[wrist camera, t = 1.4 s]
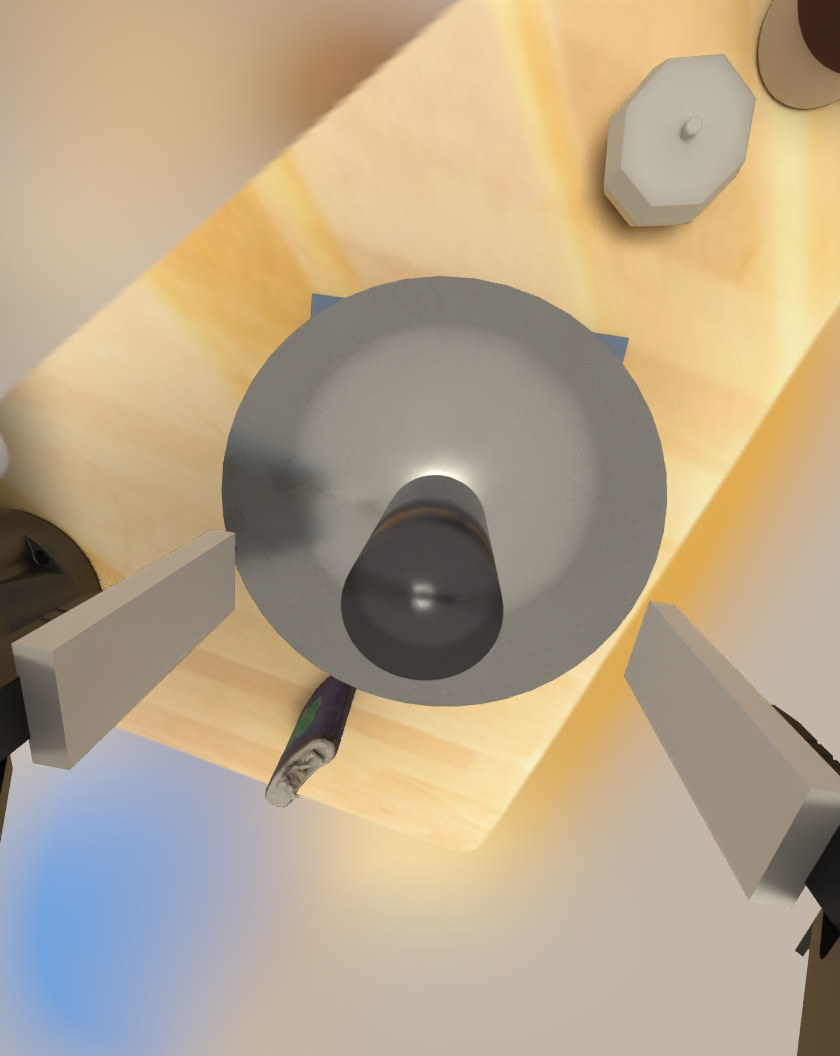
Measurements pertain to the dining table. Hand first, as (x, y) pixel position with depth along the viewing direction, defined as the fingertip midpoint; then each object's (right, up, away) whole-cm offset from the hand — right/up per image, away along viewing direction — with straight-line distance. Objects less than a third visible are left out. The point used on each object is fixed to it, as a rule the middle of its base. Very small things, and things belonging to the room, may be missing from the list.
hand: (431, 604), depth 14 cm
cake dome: (+1, +7, +21) cm, 23 cm away
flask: (-10, -15, +30) cm, 35 cm away
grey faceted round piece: (+14, +25, +15) cm, 33 cm away
